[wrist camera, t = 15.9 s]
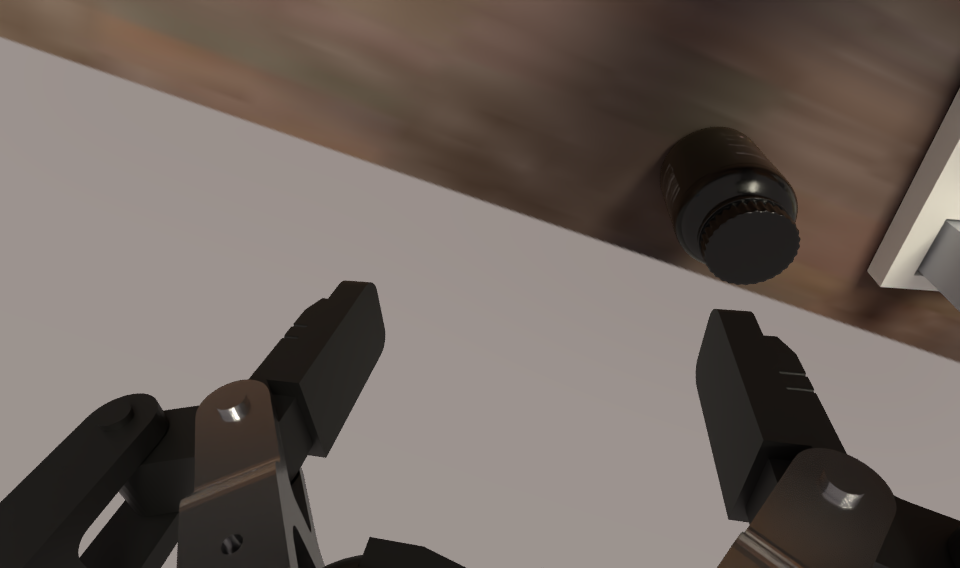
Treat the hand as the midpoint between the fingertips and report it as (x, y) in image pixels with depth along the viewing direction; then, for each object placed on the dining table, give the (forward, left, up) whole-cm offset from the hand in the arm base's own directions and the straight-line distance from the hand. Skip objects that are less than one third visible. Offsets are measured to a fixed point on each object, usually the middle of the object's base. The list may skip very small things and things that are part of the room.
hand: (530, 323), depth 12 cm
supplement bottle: (-2, +12, -28) cm, 31 cm away
